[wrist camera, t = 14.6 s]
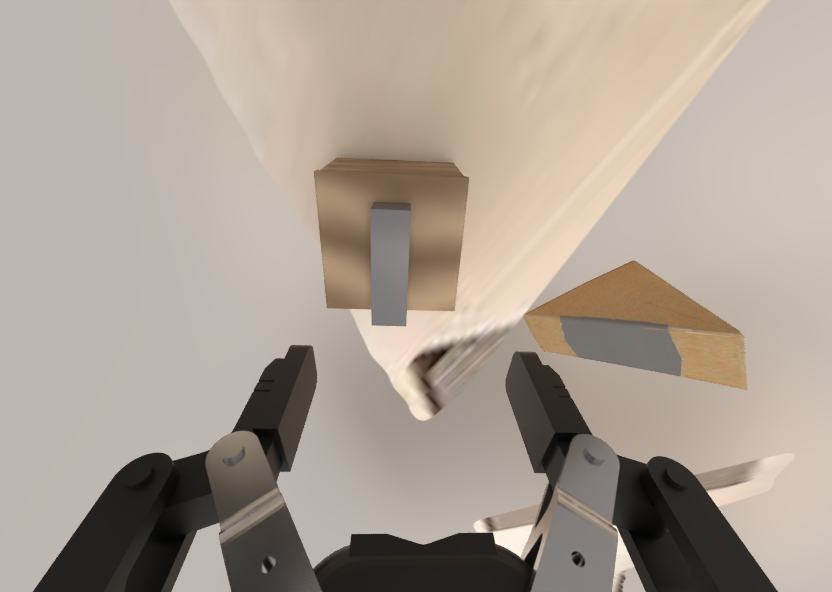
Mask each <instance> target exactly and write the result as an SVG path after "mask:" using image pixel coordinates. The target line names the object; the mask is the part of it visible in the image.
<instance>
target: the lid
mask: <svg viewBox="0 0 832 592" xmlns="http://www.w3.org/2000/svg"><path fill="white" fill-rule="evenodd" d="M314 177H315V187H316V198H317V208H318V219H319V229H320V240H321V250H322V260H323V271H324V282H325V292H326V303H327V308H344V309H372V302H371V226H370V209H371V207H372V205H373V203H374V202H389V203H409V204H411V222H410V245H409V268H408V291H407V310H430V311H455V302H456V293H457V283H458V274H459V265H460V256H461V247H462V238H463V229H464V220H465V211H466V201H467V192H468V183H469V178H468V177H462V176H438V175H415V174H391V173H368V172H344V171H321V170H317V171H314Z"/></svg>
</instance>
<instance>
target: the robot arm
mask: <svg viewBox="0 0 832 592" xmlns="http://www.w3.org/2000/svg"><path fill="white" fill-rule="evenodd" d="M316 383H317V371H316V364H315V358H314V351H313V347H312V346H307V345H292V346H290V348H289V350H288V352H287V354H286V356H285V359H280V358H278V359H275V360H274V361H273V362H271V363H270V364H269V365H268V366H267V367H266V368H265V370H264V371H263V373H262V375H261V377H260V379H259V382H258V383H257V385H256V387H255V389H254V392H253V393H252V395H251V397H250V399H249V401H248V402H247V404H246V406H245V408H244V410H243V412H242V414H241V416H240V418H239V420H238V422H237V424H236V426H235V428H234V429H233V431H232V432H231V433H230V434H228V435H226V436H224V437H223V438H221V439H220V440H219V441H218V442H216V443H215V444H214V445H213V447H212V448H211V449H210V450H208V451H206V452H203V453H200V454H196V455H193V456H189V457H185V458H182V459H178V460H175V461H172V459H171V458H170V457H169V456H168V455H166V454H164V453H151V454H147V455H144V456H141V457H139V458H137V459H135V460H133V461H132V462H130V463H129V464H127V465H126V466H125V467H123V468H122V469H121V470H120V471H119V472H118V473H117V474H116V475H115V476H114V478H113V479H112V480H111V482H110V483H109V484H108V486H107V488H106V489H105V490H104V492H103V493H102V494H101V496H100V497H99V499H98V500H97V501H96V503H95V504H94V506H93V507H92V509H91V510H90V511H89V513H88V514H87V516H86V517H85V519H84V520H83V521H82V523H81V524H80V526H79V527H78V528H77V530H76V531H75V533H74V534H73V536H72V537H71V538H70V540H69V541H68V543H67V544H66V546H65V547H64V548H63V550H62V551H61V553H60V554H59V556H58V557H57V558H56V560H55V561H54V562H53V564H52V565H51V567H50V568H49V570H48V571H47V573H46V574H45V575H44V577H43V578H42V580H41V581H40V582H39V584H38V585H37V587H36V588H35V590H34V591H33V592H171V591H172V589H173V586H174V584H175V582H176V579H177V577H178V575H179V572H180V569H181V567H182V565H183V563H184V560H185V558H186V556H187V553H188V551H189V549H190V546H191V544H192V542H193V539H194V537H195V534H196V532H197V530H199V529H202V528H205V527H208V526H211V525H213V524H216V523H220V527H221V532H220V533H219V539H220V545H221V549H222V553H223V558H224V562H225V566H226V570H227V575H228V579H229V583H230V587H231V592H612V585H613V577H614V568H615V560H616V552H617V543H618V532H617V530H616V529H615V528H614V527H612V524H613V525H615V526H617V528H618V530H619V533H620V535H621V537H622V539H623V542H624V544H625V546H626V548H627V551H628V553H629V555H630V557H631V560H632V562H633V564H634V566H635V568H636V571H637V573H638V575H639V577H640V580H641V582H642V584H643V586H644V589H645V591H646V592H778V591H777V590H776V589H775V587H774V586H773V584H772V583H771V582H770V580H769V579H768V577H767V576H766V575H765V573H764V572H763V570H762V569H761V567H760V566H759V565H758V563H757V562H756V561H755V559H754V558H753V556H752V555H751V554H750V552H749V551H748V549H747V548H746V546H745V545H744V544H743V542H742V541H741V539H740V538H739V537H738V535H737V534H736V533H735V531H734V530H733V528H732V527H731V526H730V524H729V523H728V521H727V520H726V518H725V517H724V516H723V514H722V513H721V511H720V510H719V509H718V507H717V506H716V504H715V503H714V502H713V500H712V499H711V497H710V496H709V495H708V493H707V492H706V490H705V489H704V488H703V486H702V485H701V483H700V482H699V481H698V479H697V478H696V477H695V476H694V475H693V474H692V473H691V472H690V471H689V470H688V469H687V468H685V467H684V466H683V465H681V464H680V463H678V462H676V461H674V460H672V459H669V458H666V457H661V456H657V457H653V458H652V459H651V460H650V461H649V462H648V463H647V464H645V463H642V462H638V461H635V460H632V459H628V458H625V457H622V456H619V455H617V454H616V453H615V452H614V451H613V449H612V448H611V447H610V446H609V445H608V444H607V443H605V442H604V441H603V440H601V439H599V438H598V437H595V436H593V435H592V433H591V432H590V430H589V428H588V426H587V425H586V423H585V421H584V419H583V417H582V416H581V414H580V412H579V410H578V408H577V407H576V405H575V403H574V401H573V400H572V398H571V397H570V394H569V392H568V391H567V389H565V385H564V384H563V381H562V380H561V378H560V376H559V375H558V374H557V373H556V372H555V371H554V370H553V369H552V368H551V367H550V366H549V365H542V363H541V361H540V359H539V357H538V355H537V354H536V353H535V352H515V353H514V355H513V358H512V361H511V364H510V367H509V370H508V374H507V377H506V392H507V395H508V398H509V401H510V404H511V407H512V409H513V412H514V415H515V418H516V421H517V424H518V426H519V430H520V432H521V435H522V438H523V441H524V444H525V447H526V450H527V453H528V455H529V458H530V461H531V464H532V467H533V470H534V473H546V475H547V477H548V480H549V482H548V484H547V487H546V489H545V492H544V495H543V498H542V501H541V504H540V507H539V510H538V513H537V516H536V519H535V522H534V525H533V528H532V531H531V534H530V536H529V539H528V541H527V543H526V545H525V548H524V550H523V553H522V555H521V558H520V557H519V556H517V555H516V554H515V553H513V552H511V551H510V550H508V549H506V548H504V547H502V546H500V545H497V544H495V540H494V536H493V533H458V534H455V535H452V536H449V537H446V538H444V539H440V540H438V541H435V542H432V543H429V544H425V545H422V544H418V543H414V542H412V541H408V540H405V539H401V538H398V537H395V536H392V535H389V534H352V535H351V542H350V545H349V546H346V547H343V548H341V549H340V550H337V551H335V552H333V553H332V554H330V555H329V556H327V557H326V558H325V559H324V560H322V561H321V562H320V563H319V564H318V565H317V566H316V567H315V568H314V569H312V566H311V564H310V562H309V559H308V556H307V554H306V552H305V549H304V547H303V544H302V542H301V539H300V537H299V535H298V532H297V530H296V527H295V525H294V523H293V520H292V518H291V515H290V513H289V510H288V508H287V506H286V503H285V501H284V498H283V496H282V494H281V493H280V490H279V488H278V485H277V483H276V482H277V478H278V476H279V473H280V472H290V470H291V467H292V464H293V461H294V457H295V454H296V451H297V448H298V444H299V441H300V438H301V434H302V431H303V428H304V425H305V421H306V418H307V415H308V412H309V408H310V405H311V402H312V399H313V395H314V392H315V389H316Z"/></svg>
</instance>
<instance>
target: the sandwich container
mask: <svg viewBox="0 0 832 592" xmlns="http://www.w3.org/2000/svg"><path fill="white" fill-rule="evenodd" d="M523 318H524V320H525V321H526V324H527V326H528V328H529V330H530V332H531V333H532V335H533V337H534V338H535V340H536V341H537V343H538V344H539V346H540V347H541V348H542V350H543V351H544V352H550V353H556V354H562V355H568V356H574V357H580V358H585V359H591V360H596V361H602V362H607V363H613V364H618V365H623V366H628V367H634V368H640V369H645V370H650V371H655V372H661V373H666V374H671V375H676V376H681V377H686V378H691V379H696V380H701V381H706V382H711V383H716V384H721V385H726V386H730V387H735V388H740V389H745V390H747V380H746V366H745V348H744V336H743V334H742V333H741V332H740V331H739V330H737V329H736V328H734V327H733V326H731V325H730V324H728V323H727V322H725V321H724V320H722V319H721V318H719V317H718V316H716V315H715V314H713V313H712V312H710V311H709V310H707V309H706V308H704V307H703V306H701V305H700V304H699V303H697V302H696V301H694V300H692V299H691V298H689V297H688V296H686V295H685V294H684V293H682V292H681V291H679V290H678V289H676V288H675V287H673V286H672V285H670V284H669V283H667V282H666V281H664V280H663V279H661V278H660V277H658V276H657V275H655V274H654V273H652V272H651V271H649V270H648V269H646V268H645V267H643V266H642V265H640V264H639V263H637V262H636V261H631V262H629V263H627V264H624V265H622V266H620V267H618V268H616V269H614V270H612V271H610V272H607V273H605V274H603V275H601V276H599V277H596V278H594V279H592V280H590V281H588V282H586V283H584V284H582V285H580V286H578V287H576V288H574V289H572V290H570V291H568V292H566V293H564V294H562V295H560V296H558V297H556V298H555V299H553V300H551V301H549V302H547V303H545V304H543V305H541V306H539V307H537V308H535V309H533V310H531V311H529V312H527V313H525V314H524V315H523Z"/></svg>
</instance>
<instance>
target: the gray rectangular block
mask: <svg viewBox="0 0 832 592" xmlns="http://www.w3.org/2000/svg"><path fill="white" fill-rule="evenodd" d="M410 222H411V204H409V203H389V202H374V203H373V205H372V207H371V209H370V226H371V302H372V325H380V326H406V314H407V291H408V268H409V245H410Z"/></svg>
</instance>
